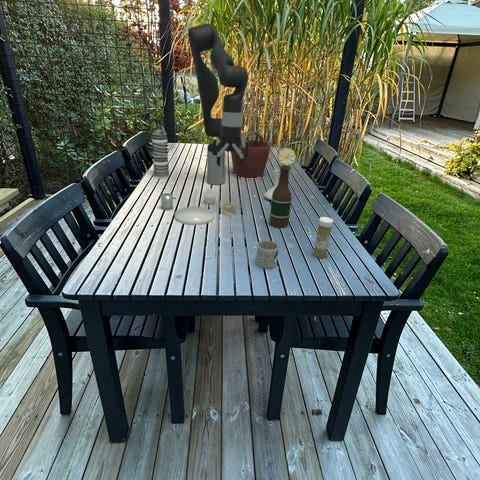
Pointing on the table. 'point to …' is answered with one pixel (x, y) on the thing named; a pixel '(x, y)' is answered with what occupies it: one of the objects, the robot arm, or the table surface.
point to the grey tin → (166, 201)
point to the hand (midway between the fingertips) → (229, 166)
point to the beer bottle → (281, 200)
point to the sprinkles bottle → (323, 237)
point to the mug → (267, 254)
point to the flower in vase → (285, 158)
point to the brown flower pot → (251, 157)
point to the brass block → (229, 209)
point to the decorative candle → (160, 154)
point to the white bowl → (194, 215)
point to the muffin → (209, 196)
